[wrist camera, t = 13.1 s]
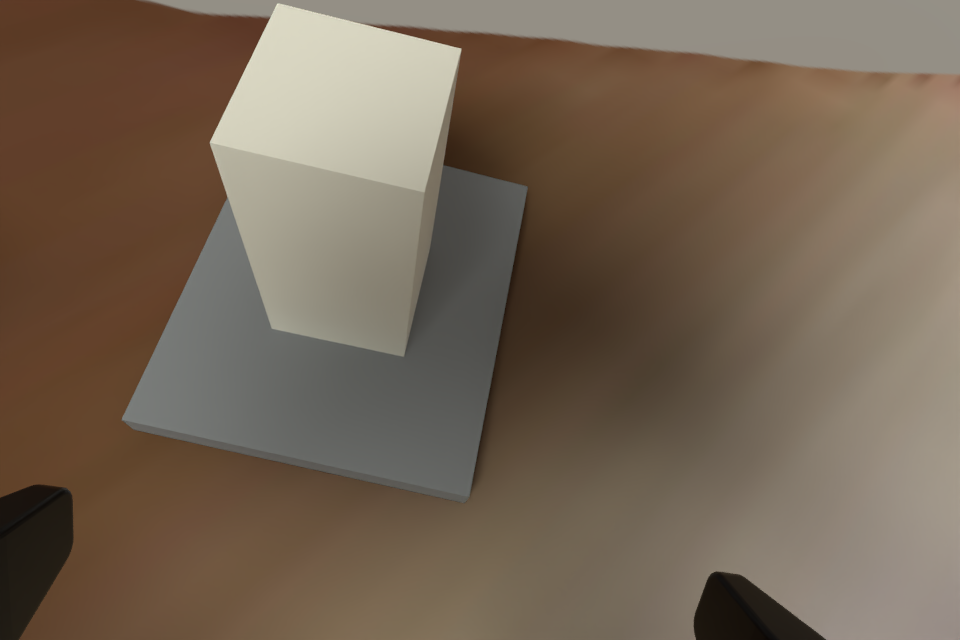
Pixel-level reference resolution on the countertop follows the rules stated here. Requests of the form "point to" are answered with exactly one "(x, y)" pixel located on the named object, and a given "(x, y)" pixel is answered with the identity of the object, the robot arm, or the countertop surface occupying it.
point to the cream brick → (338, 173)
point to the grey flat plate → (344, 359)
